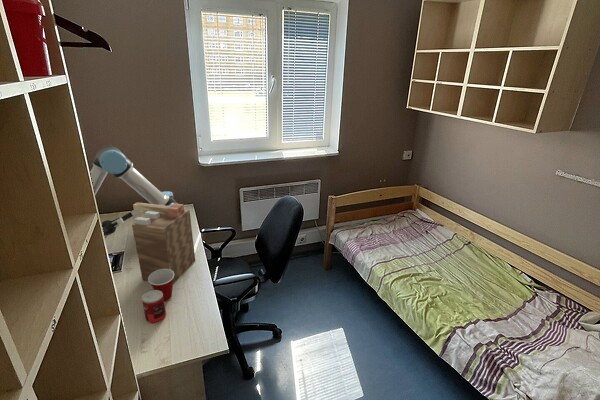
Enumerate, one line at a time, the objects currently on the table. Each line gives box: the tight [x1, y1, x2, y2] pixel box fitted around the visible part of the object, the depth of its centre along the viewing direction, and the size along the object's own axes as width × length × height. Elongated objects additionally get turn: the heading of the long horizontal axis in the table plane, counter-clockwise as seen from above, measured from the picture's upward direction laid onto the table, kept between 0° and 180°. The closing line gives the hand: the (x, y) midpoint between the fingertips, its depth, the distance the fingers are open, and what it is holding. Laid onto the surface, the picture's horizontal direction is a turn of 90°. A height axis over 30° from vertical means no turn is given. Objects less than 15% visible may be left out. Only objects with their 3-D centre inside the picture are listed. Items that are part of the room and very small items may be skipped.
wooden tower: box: [131, 208, 196, 285], centre depth 162 cm, size 22×16×30 cm
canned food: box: [141, 289, 167, 324], centre depth 134 cm, size 8×8×11 cm
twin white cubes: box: [134, 211, 160, 226], centre depth 152 cm, size 9×6×2 cm, turn 168°
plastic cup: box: [147, 269, 174, 303], centre depth 145 cm, size 11×11×12 cm
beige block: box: [132, 202, 185, 217], centre depth 161 cm, size 6×25×4 cm, turn 78°
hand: (131, 214), depth 166 cm, fingers open, 13 cm apart
